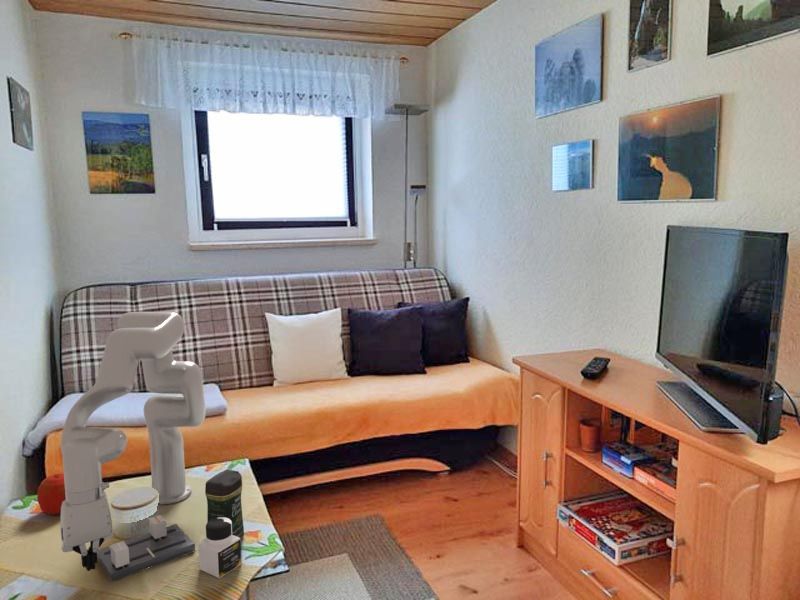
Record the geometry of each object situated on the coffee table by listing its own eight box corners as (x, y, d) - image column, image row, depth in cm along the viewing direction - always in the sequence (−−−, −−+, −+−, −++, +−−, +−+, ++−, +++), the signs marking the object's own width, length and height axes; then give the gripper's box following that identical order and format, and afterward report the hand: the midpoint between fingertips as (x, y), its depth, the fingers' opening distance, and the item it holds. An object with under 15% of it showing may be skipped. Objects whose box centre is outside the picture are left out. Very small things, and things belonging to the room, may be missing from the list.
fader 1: (111, 560, 144) (110, 544, 144) (124, 556, 146) (123, 540, 146) (116, 568, 141) (115, 552, 141) (129, 563, 143) (128, 547, 143)
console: (96, 557, 150) (95, 549, 150) (176, 530, 163) (175, 523, 162) (111, 581, 140) (110, 573, 140) (195, 550, 153) (194, 543, 153)
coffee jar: (229, 554, 152) (225, 484, 149) (202, 548, 154) (198, 480, 151) (249, 534, 161) (247, 469, 158) (224, 530, 163) (221, 465, 160)
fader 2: (149, 532, 157) (148, 518, 156) (161, 529, 159) (160, 514, 158) (155, 539, 154) (154, 524, 153) (166, 535, 156) (165, 520, 155)
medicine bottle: (219, 579, 141) (217, 532, 139) (199, 570, 145) (196, 523, 143) (242, 564, 147) (240, 518, 145) (222, 555, 151) (220, 511, 149)
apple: (65, 520, 168) (62, 481, 167) (30, 519, 169) (26, 481, 167) (85, 502, 178) (82, 466, 177) (51, 502, 179) (48, 465, 177)
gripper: (114, 478, 145) (119, 549, 147) (43, 497, 135) (50, 572, 137) (123, 489, 139) (128, 562, 141) (50, 509, 129) (57, 588, 132)
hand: (90, 567), depth 139 cm, fingers closed
